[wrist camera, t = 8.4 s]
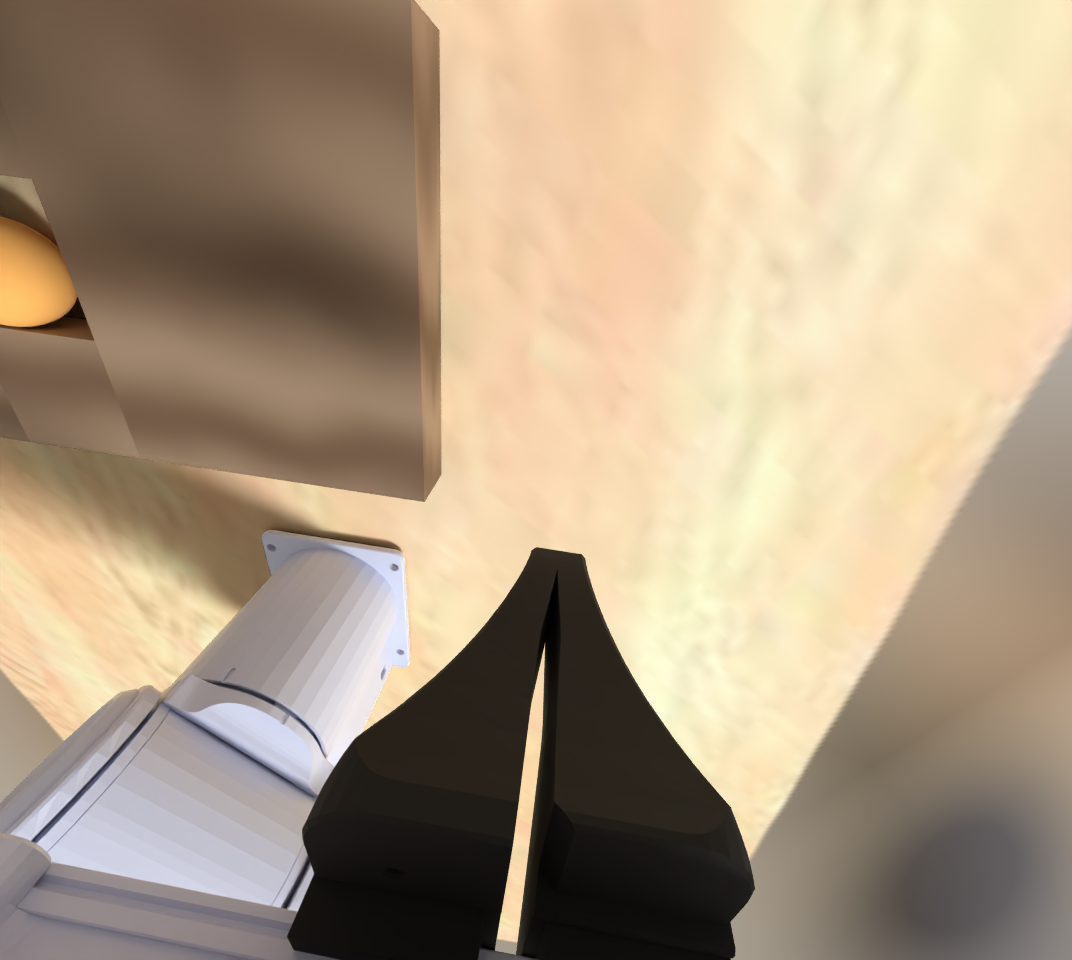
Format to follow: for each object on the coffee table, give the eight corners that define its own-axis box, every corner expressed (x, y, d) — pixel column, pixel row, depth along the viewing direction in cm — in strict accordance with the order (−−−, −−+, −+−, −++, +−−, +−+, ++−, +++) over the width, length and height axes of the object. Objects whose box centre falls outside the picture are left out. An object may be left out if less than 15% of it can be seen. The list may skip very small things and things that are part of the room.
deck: (441, 474, 22) (424, 501, 20) (22, 411, 23) (-37, 431, 21) (439, 30, 14) (410, -5, 12) (-204, -34, 15) (-338, -77, 13)
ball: (123, 303, 20) (50, 348, 17) (38, 298, 20) (-48, 342, 18) (58, 201, 17) (-42, 235, 15) (-41, 197, 18) (-159, 230, 15)
